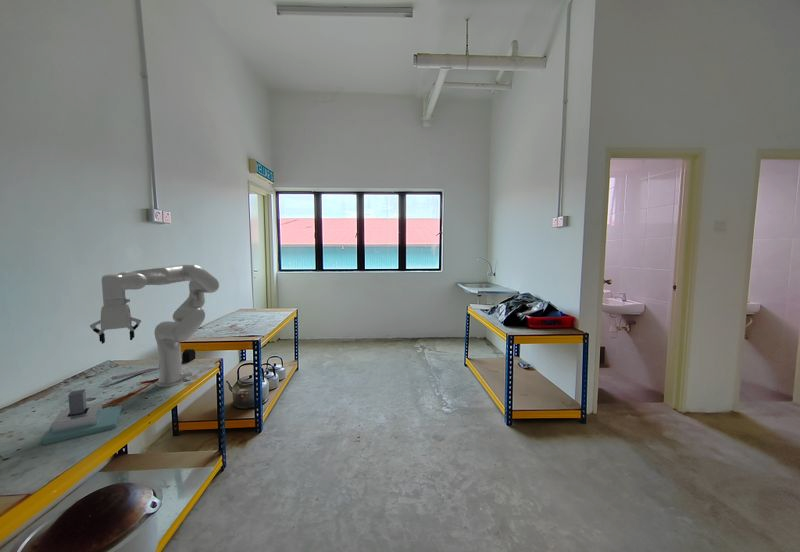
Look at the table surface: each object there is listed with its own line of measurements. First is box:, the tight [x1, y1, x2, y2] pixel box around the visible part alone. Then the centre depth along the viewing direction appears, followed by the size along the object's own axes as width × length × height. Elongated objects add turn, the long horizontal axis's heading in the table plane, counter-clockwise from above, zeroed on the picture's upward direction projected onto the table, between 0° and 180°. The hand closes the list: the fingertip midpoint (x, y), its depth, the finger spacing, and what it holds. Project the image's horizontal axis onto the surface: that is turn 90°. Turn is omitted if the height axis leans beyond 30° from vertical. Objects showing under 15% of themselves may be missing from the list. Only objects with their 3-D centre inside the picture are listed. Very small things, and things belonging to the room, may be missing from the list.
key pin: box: [67, 389, 87, 416], centre depth 131 cm, size 4×4×12 cm
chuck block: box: [41, 402, 124, 446], centre depth 133 cm, size 20×18×6 cm
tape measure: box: [181, 348, 197, 364], centre depth 207 cm, size 15×4×8 cm, turn 3°
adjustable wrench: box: [111, 365, 159, 381], centre depth 182 cm, size 25×6×2 cm, turn 160°
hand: (117, 341), depth 149 cm, fingers open, 9 cm apart
